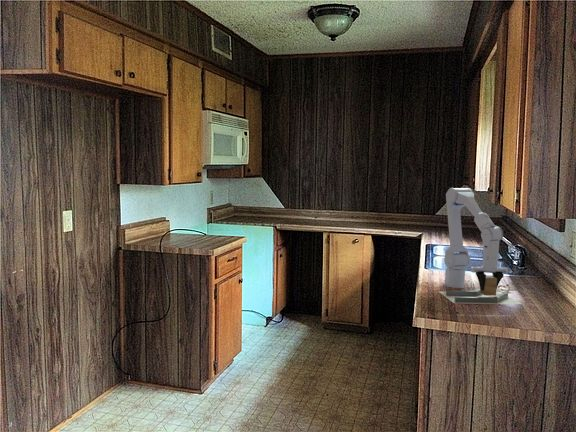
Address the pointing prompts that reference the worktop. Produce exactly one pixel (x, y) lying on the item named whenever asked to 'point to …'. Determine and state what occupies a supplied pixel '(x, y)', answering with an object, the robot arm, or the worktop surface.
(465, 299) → the rails
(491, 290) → the walnut block
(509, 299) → the channel board
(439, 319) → the worktop surface
